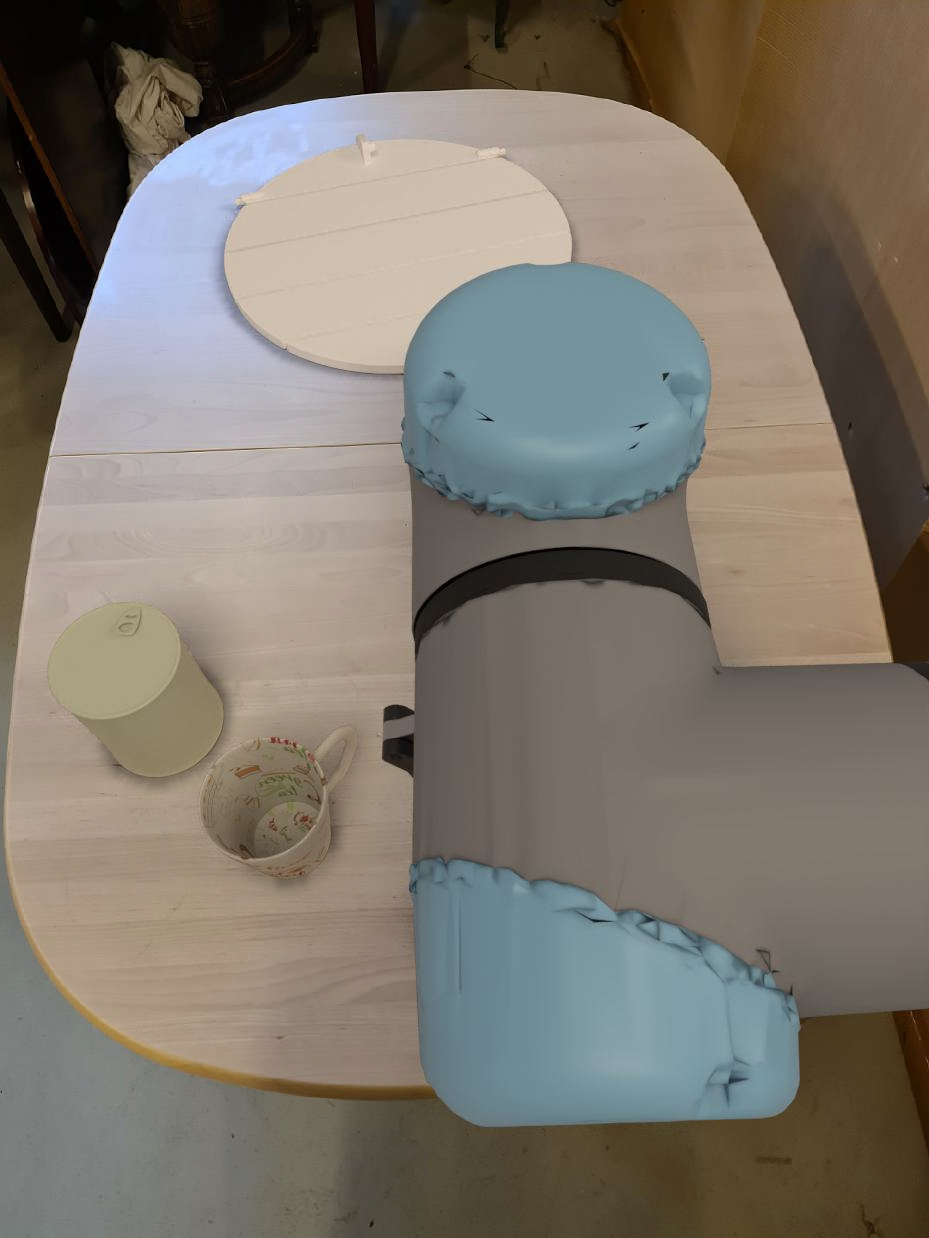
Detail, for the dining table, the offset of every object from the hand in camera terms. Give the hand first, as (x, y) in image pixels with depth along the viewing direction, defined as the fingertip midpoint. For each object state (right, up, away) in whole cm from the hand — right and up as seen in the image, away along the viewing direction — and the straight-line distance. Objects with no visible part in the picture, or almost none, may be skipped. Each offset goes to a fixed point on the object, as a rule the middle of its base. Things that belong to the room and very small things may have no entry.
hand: (509, 833), depth 53 cm
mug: (-15, -2, +12) cm, 19 cm away
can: (-27, +5, +16) cm, 32 cm away
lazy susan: (-10, +56, +45) cm, 72 cm away
